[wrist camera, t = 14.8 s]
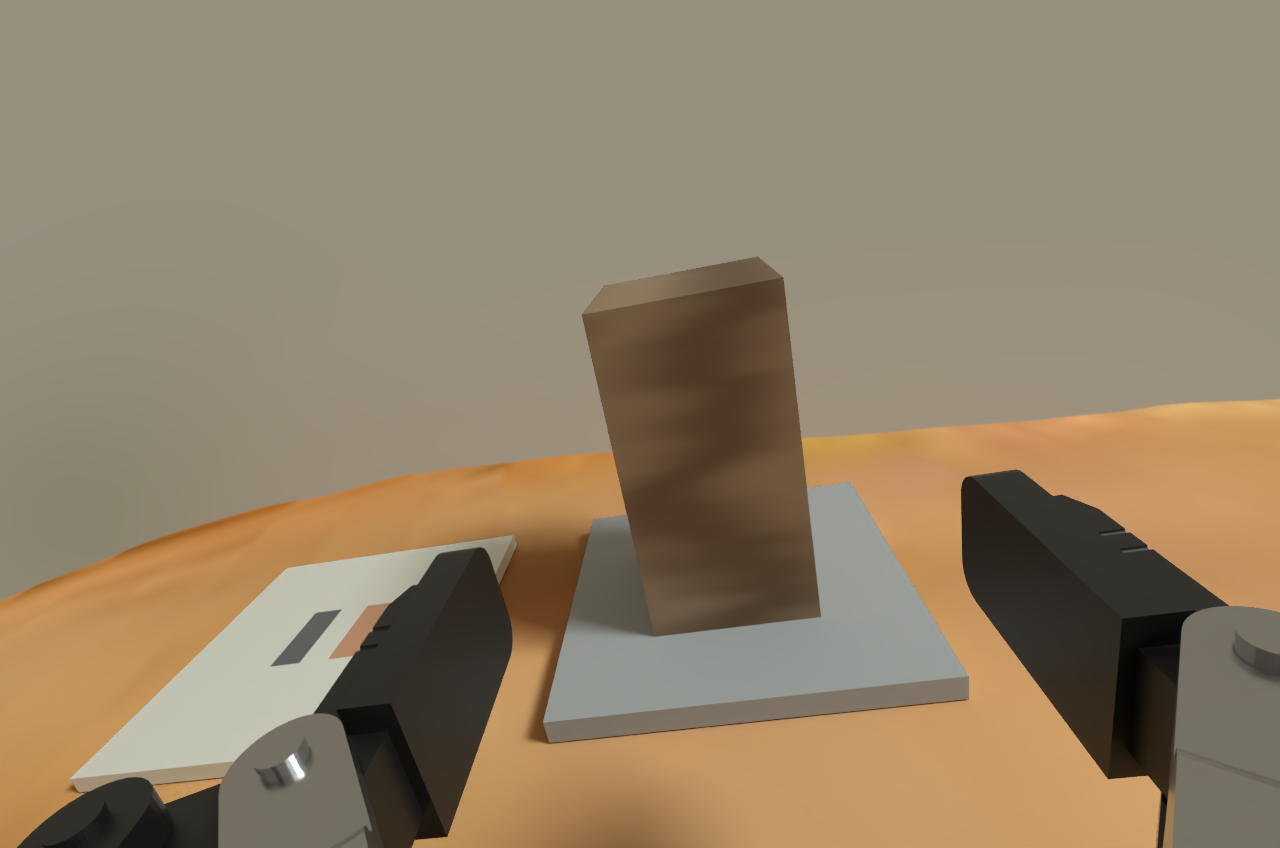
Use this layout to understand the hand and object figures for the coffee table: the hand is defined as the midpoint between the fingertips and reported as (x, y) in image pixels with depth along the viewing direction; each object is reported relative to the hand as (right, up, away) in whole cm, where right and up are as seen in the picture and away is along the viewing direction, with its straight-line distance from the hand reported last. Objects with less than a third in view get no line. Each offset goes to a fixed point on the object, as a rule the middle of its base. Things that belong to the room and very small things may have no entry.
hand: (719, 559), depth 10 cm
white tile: (-13, -7, +15) cm, 21 cm away
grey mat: (+2, -4, +13) cm, 14 cm away
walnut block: (+2, -3, +12) cm, 13 cm away
